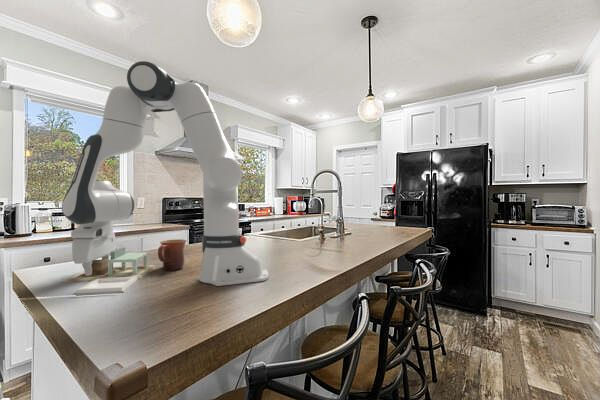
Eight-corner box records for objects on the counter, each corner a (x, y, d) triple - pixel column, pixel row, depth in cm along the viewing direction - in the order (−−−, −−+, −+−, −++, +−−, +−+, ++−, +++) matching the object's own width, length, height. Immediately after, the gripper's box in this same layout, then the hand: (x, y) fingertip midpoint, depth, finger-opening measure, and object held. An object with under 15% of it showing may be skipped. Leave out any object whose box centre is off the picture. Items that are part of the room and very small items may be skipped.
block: (108, 272, 95) (108, 259, 95) (101, 276, 90) (101, 262, 90) (93, 273, 94) (93, 260, 94) (85, 276, 90) (85, 263, 90)
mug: (170, 265, 108) (170, 239, 108) (191, 266, 106) (191, 239, 106) (148, 273, 96) (148, 243, 96) (170, 274, 95) (170, 244, 95)
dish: (137, 281, 87) (137, 276, 87) (122, 293, 76) (122, 287, 76) (97, 283, 85) (97, 278, 85) (76, 295, 74) (76, 289, 74)
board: (154, 269, 102) (154, 265, 102) (140, 280, 88) (140, 275, 88) (86, 272, 98) (86, 268, 98) (61, 283, 84) (61, 279, 84)
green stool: (147, 268, 100) (147, 246, 100) (135, 276, 90) (136, 251, 90) (123, 269, 99) (123, 246, 99) (108, 278, 88) (108, 252, 88)
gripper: (101, 226, 102) (101, 264, 102) (67, 233, 82) (67, 280, 82) (121, 226, 103) (120, 263, 103) (91, 232, 83) (91, 279, 83)
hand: (96, 271), depth 92 cm, fingers open, 8 cm apart
